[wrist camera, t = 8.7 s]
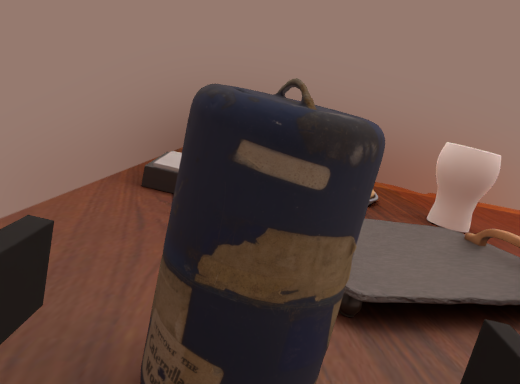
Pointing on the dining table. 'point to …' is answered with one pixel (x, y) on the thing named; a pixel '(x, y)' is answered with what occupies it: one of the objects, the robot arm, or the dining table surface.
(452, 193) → the cup
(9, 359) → the dining table surface
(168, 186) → the scale
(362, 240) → the serving tray
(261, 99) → the canister
